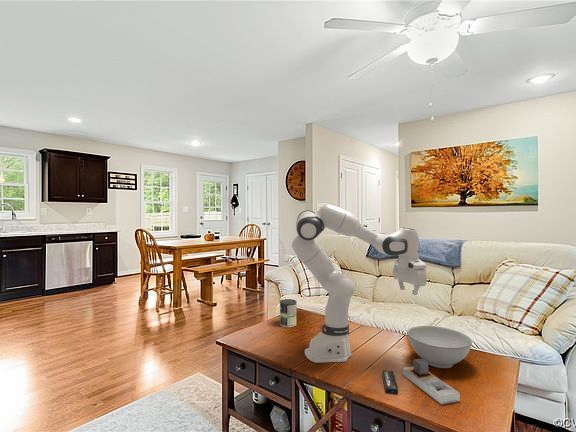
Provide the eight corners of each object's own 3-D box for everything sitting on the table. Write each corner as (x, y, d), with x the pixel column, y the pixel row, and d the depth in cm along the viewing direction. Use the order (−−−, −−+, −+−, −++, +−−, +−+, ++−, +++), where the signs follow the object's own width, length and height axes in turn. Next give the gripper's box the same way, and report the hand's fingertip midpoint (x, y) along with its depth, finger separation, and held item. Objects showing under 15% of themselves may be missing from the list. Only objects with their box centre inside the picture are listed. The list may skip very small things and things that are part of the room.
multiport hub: (393, 376, 136) (393, 370, 136) (398, 395, 122) (398, 389, 122) (382, 375, 137) (382, 369, 137) (385, 394, 123) (385, 387, 123)
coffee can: (278, 326, 194) (278, 303, 194) (280, 321, 204) (280, 298, 204) (295, 327, 193) (296, 303, 193) (297, 321, 203) (297, 299, 203)
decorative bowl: (465, 353, 157) (465, 329, 157) (478, 381, 132) (479, 351, 132) (406, 346, 166) (406, 323, 166) (408, 371, 140) (408, 343, 140)
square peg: (419, 383, 130) (419, 363, 130) (413, 379, 133) (413, 359, 133) (428, 382, 131) (428, 362, 131) (421, 377, 135) (421, 358, 135)
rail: (441, 404, 116) (441, 395, 116) (403, 375, 137) (403, 367, 137) (459, 401, 118) (459, 392, 118) (419, 372, 139) (419, 365, 139)
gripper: (389, 259, 161) (389, 287, 161) (417, 266, 142) (416, 297, 142) (400, 259, 163) (400, 286, 163) (429, 265, 143) (429, 296, 143)
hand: (408, 292), depth 152 cm, fingers open, 8 cm apart
